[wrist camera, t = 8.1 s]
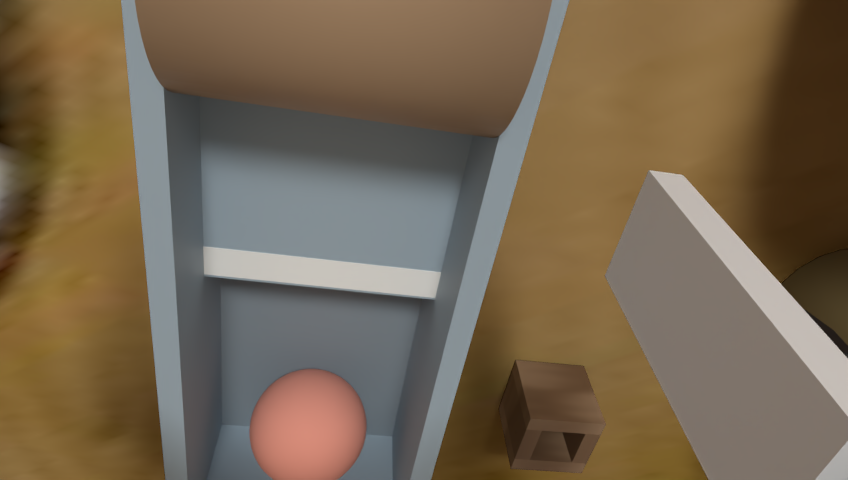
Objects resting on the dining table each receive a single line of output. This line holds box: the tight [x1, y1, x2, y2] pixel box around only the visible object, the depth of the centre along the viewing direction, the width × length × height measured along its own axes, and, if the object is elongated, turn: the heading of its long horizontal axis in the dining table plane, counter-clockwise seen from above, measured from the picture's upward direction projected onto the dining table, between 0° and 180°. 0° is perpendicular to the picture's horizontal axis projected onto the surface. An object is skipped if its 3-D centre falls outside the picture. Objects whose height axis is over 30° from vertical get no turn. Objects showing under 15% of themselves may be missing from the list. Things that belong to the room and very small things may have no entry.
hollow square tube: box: [499, 360, 606, 473], centre depth 28 cm, size 3×3×4 cm
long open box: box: [121, 0, 569, 480], centre depth 21 cm, size 10×27×8 cm, turn 170°
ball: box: [249, 369, 367, 480], centre depth 26 cm, size 5×5×5 cm
